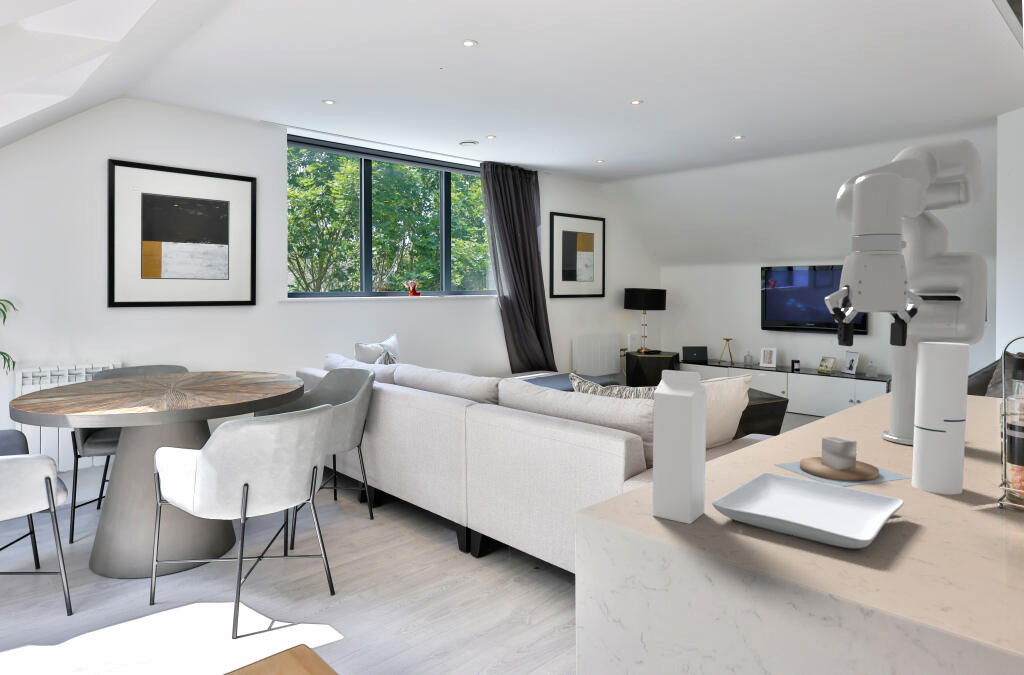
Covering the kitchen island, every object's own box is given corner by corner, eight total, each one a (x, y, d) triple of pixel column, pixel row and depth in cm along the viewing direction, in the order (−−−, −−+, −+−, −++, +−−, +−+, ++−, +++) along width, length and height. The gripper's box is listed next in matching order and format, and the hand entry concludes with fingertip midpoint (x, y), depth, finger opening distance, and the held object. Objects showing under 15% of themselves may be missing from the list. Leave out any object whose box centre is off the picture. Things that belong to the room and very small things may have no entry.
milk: (667, 505, 100) (669, 367, 99) (705, 513, 96) (707, 370, 95) (651, 516, 95) (653, 371, 94) (690, 524, 92) (692, 374, 90)
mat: (843, 459, 127) (843, 457, 127) (911, 480, 113) (911, 477, 112) (774, 467, 121) (774, 464, 121) (836, 490, 107) (836, 487, 107)
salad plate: (869, 565, 79) (870, 538, 78) (708, 523, 93) (709, 501, 93) (905, 520, 94) (906, 497, 94) (763, 490, 109) (763, 470, 108)
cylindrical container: (970, 498, 103) (978, 345, 101) (922, 495, 104) (928, 345, 102) (949, 485, 110) (956, 342, 108) (904, 482, 111) (910, 341, 109)
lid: (837, 459, 125) (838, 429, 125) (895, 477, 113) (897, 444, 112) (784, 465, 121) (785, 434, 121) (838, 484, 109) (839, 450, 108)
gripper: (907, 249, 113) (902, 344, 114) (815, 248, 112) (812, 344, 113) (938, 246, 106) (934, 347, 107) (841, 244, 104) (837, 347, 105)
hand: (871, 345), depth 110 cm, fingers open, 9 cm apart
